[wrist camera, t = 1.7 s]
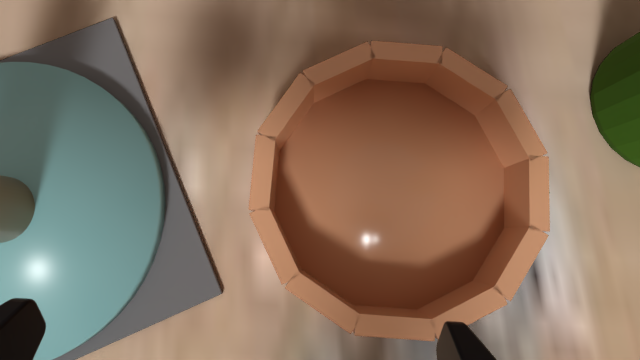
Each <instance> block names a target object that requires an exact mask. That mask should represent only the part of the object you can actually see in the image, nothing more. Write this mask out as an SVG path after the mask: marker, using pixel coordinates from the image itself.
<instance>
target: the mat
mask: <svg viewBox="0 0 640 360" xmlns="http://www.w3.org/2000/svg"><path fill="white" fill-rule="evenodd" d="M3 62H32V63H39V64H47V65H51V66H55V67H59V68H62V69H66V70H69V71H71V72H73V73H76V74H78V75H80V76H83V77H85V78H87V79H88V80H90V81H92V82H93V83H95V84H97V85H99V86H100V87H102V88H103V89H104V90H106V91H107V92H109V93H110V94H111V95H112V96H114V97H115V98H116V99H117V100H119V101H120V102H121V103H123V104H124V105H125V106H126V108H127V109H128V110H129V111H130V112H131V113H132V114H133V115H134V116H135V117H136V118H137V120H138V121H139V123H140V124H141V125H142V127H143V128H144V130H145V131H146V133H147V135H148V136H149V138H150V140H151V142H152V144H153V146H154V148H155V151H156V154H157V157H158V159H159V162H160V165H161V170H162V175H163V179H164V186H165V201H166V204H165V219H164V226H163V231H162V236H161V241H160V244H159V247H158V250H157V253H156V256H155V259H154V262H153V264H152V266H151V268H150V270H149V272H148V274H147V277H146V279H145V280H144V282H143V284H142V285H141V287H140V288H139V290H138V291H137V293H136V294H135V296H134V298H133V299H132V300H131V301H130V302H129V304H128V305H127V306H126V307H125V308H124V310H123V311H122V312H121V313H120V314H119V315H118V316H117V317H116V318H115V319H114V320H113V321H112V322H111V323H110V324H109V325H108V326H107V327H106V328H105V329H103V330H102V331H101V332H99V333H98V334H97V335H95V336H94V337H93V338H91V339H90V340H88V341H87V342H85V343H84V344H82V345H80V346H78V347H77V348H75V349H73V350H71V351H70V352H68V353H66V354H64V355H61V356H59V357H57V358H55V359H52V360H75V359H78V358H80V357H82V356H84V355H86V354H89V353H91V352H93V351H95V350H98V349H100V348H102V347H104V346H106V345H109V344H111V343H113V342H115V341H118V340H120V339H122V338H124V337H127V336H129V335H131V334H133V333H135V332H138V331H140V330H142V329H144V328H147V327H149V326H151V325H153V324H155V323H158V322H160V321H162V320H164V319H167V318H169V317H171V316H173V315H175V314H178V313H180V312H182V311H184V310H187V309H189V308H191V307H193V306H195V305H198V304H200V303H202V302H204V301H207V300H209V299H211V298H213V297H215V296H218V295H220V294H222V293H223V292H222V290H221V287H220V285H219V282H218V280H217V277H216V274H215V272H214V269H213V267H212V264H211V262H210V259H209V257H208V254H207V252H206V249H205V247H204V244H203V242H202V239H201V237H200V234H199V232H198V229H197V227H196V224H195V221H194V219H193V216H192V214H191V211H190V209H189V206H188V204H187V201H186V199H185V196H184V194H183V191H182V189H181V186H180V184H179V181H178V179H177V176H176V174H175V171H174V168H173V166H172V163H171V161H170V158H169V156H168V153H167V151H166V148H165V146H164V143H163V141H162V138H161V136H160V133H159V131H158V128H157V126H156V123H155V121H154V118H153V115H152V113H151V110H150V108H149V105H148V103H147V100H146V98H145V95H144V93H143V90H142V88H141V85H140V83H139V80H138V78H137V75H136V73H135V70H134V68H133V65H132V62H131V60H130V57H129V55H128V52H127V50H126V47H125V45H124V42H123V40H122V37H121V35H120V32H119V30H118V27H117V25H116V22H115V20H114V19H113V18H110V19H108V20H105V21H102V22H100V23H97V24H94V25H92V26H89V27H87V28H84V29H81V30H79V31H76V32H74V33H71V34H68V35H66V36H63V37H60V38H58V39H55V40H53V41H50V42H47V43H45V44H42V45H40V46H37V47H34V48H32V49H29V50H27V51H24V52H21V53H19V54H16V55H13V56H11V57H8V58H6V59H3V60H0V63H3Z"/></svg>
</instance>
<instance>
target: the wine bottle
mask: <svg viewBox="0 0 640 360" xmlns="http://www.w3.org/2000/svg"><path fill="white" fill-rule="evenodd" d="M590 99H591V106H592V114H593V117H594V120H595V122H596V124H597V127H598V129H599V132H600V133H601V135H602V136H603V137H604V139H605V140H606V141H607V143H608V144H609V146H610V147H611V148H612V149H613V150H614V151H616V152H617V153H618V154H619V155H620V156H621V157H623V158H624V159H625V160H627V161H629V162H631V163H632V164H634V165H636V166H638V167H640V32H639V33H637V34H636V35H634V36H633V37H631V38H629V39H628V40H626V41H625V42H623V43H622V44H620V45H618V46H617V47H615V48H614V49H613V50H612V51H611V52H610V54H609V55H608V56H607V57H606V58H605V59H604V60H603V62H602V63H601V65H600V66H599V68H598V70H597V72H596V75H595V77H594V79H593V82H592V89H591V97H590Z"/></svg>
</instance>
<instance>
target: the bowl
mask: <svg viewBox="0 0 640 360" xmlns="http://www.w3.org/2000/svg"><path fill="white" fill-rule="evenodd" d="M442 50H443V46H436V45H423V44H410V43H397V42H384V41H371V44H370V45H369V43H368V41H367V42H365V43H362V44H360V45H358V46H356V47H354V48H351V49H349V50H347V51H345V52H342V53H340V54H338V55H336V56H333V57H331V58H329V59H327V60H325V61H322V62H320V63H318V64H316V65H313V66H311V67H309V68H307V69H305V70H303V74H301V73H299V74H298V76H297V77H296V79H295V80H294V81H293V83H292V84H291V85H290V87H289V88H288V90H287V91H286V92H285V94H284V95H283V96H282V98H281V99H280V101H279V102H278V103H277V105H276V106H275V107H274V109H273V110H272V112H271V113H270V114H269V116H268V117H267V118H266V120H265V121H264V123H263V124H262V125H261V127H260V128H259V129H258V133H259V135H256V140H255V150H254V160H253V170H252V180H251V190H250V200H249V210H251V211H253V212H251V213H249V214H250V216H251V218H252V220H253V223H254V225H255V227H256V229H257V231H258V233H259V236H260V238H261V240H262V242H263V244H264V247H265V249H266V251H267V253H268V255H269V257H270V260H271V262H272V264H273V266H274V268H275V270H276V273H277V275H278V277H279V279H280V281H281V284H284V283H286V282H288V281H289V282H288V283H287V285H286V287H285V289H287V290H288V291H290V292H291V293H293V294H294V295H295V296H297V297H298V298H300V299H301V300H303V301H304V302H305V303H307V304H308V305H310V306H311V307H313V308H314V309H315V310H317V311H318V312H320V313H321V314H323V315H324V316H325V317H327V318H328V319H330V320H331V321H333V322H334V323H335V324H337V325H338V326H340V327H341V328H343V329H344V330H345V331H347V332H348V333H350V334H351V333H352V331H353V333H354V335H355V336H367V337H382V338H396V339H410V340H424V341H435V338H436V339H438V340H439V337H440V334H441V331H442V328H443V325H444V323H445V322H446V321H455V322H463V323H465V324H466V325H469V324H471V323H473V322H475V321H476V320H478V319H480V318H482V317H484V316H486V315H488V314H490V313H492V312H493V311H495V310H497V309H499V308H501V307H503V306H505V305H507V302H506V300H509V301H511V300H512V298H513V296H514V295H515V293H516V291H517V289H518V288H519V286H520V284H521V282H522V281H523V279H524V277H525V276H526V274H527V272H528V270H529V269H530V267H531V265H532V263H533V262H534V260H535V258H536V257H537V255H538V253H539V251H540V250H541V248H542V246H543V244H544V243H545V241H546V239H547V238H548V236H549V235H547V234H546V233H544V232H547V231H550V220H549V157H545V156H542V155H544V154H546V153H547V151H546V149H545V148H544V146H543V144H542V142H541V141H540V139H539V137H538V135H537V134H536V132H535V130H534V129H533V127H532V125H531V123H530V122H529V120H528V118H527V116H526V115H525V113H524V111H523V109H522V108H521V106H520V104H519V102H518V101H517V99H516V97H515V96H514V94H513V92H512V90H511V89H509V90H507V91H505V90H506V88H507V87H508V86H507V85H506V84H504V83H502V82H501V81H499V80H498V79H496V78H494V77H493V76H491V75H490V74H488V73H487V72H485V71H483V70H482V69H480V68H479V67H477V66H475V65H474V64H472V63H471V62H469V61H467V60H466V59H464V58H463V57H461V56H460V55H458V54H456V53H455V52H453V51H452V50H450V49H448V48H447V47H446V49H445V50H444V51H443V53H442ZM504 91H505V92H504Z"/></svg>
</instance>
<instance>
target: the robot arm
mask: <svg viewBox="0 0 640 360" xmlns="http://www.w3.org/2000/svg"><path fill="white" fill-rule="evenodd" d="M45 330H46V322H45V320H44V318H43V316H42V314H41V311H40V309H39V307H38V305H37V303H36V302H35V301H34V300H33V299H27V298H13V299H10V300H8V301H6V302H5V303H3V304H1V305H0V360H33V359H34V356H35V354H36V352H37V350H38V347H39V345H40V343H41V341H42V339H43V336H44V334H45ZM436 351H437V360H496V358H495V357H494V356H493V355H492V354H491V353H490V351H489V350H488V349H487V348H486V347H485V346H484V344H483V343H482V342H481V341H480V340H479V339H478V337H477V336H476V335H475V334H474V333H473V332H472V330H471V329H470V328H469V327H468V326H467V325H466V324H465V323H463V322H455V321H446V322H445V323H444V325H443V328H442V331H441V334H440V337H439V340H438V342H437V349H436Z"/></svg>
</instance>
